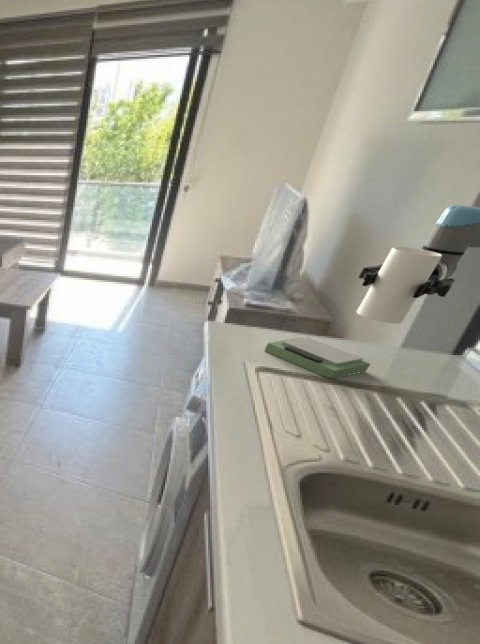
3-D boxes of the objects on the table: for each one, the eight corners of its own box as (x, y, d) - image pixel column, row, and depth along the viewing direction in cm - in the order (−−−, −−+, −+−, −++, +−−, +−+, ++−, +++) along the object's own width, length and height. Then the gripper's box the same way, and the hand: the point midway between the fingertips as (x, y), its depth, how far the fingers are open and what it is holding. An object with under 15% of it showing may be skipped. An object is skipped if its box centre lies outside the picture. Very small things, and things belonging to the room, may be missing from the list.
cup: (396, 315, 117) (436, 251, 110) (406, 326, 111) (448, 258, 103) (353, 308, 121) (388, 244, 113) (360, 317, 115) (397, 251, 107)
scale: (365, 371, 120) (372, 360, 118) (330, 379, 115) (336, 367, 114) (298, 345, 133) (303, 334, 131) (264, 350, 128) (269, 340, 127)
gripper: (470, 300, 115) (445, 316, 104) (359, 276, 130) (327, 287, 119) (491, 270, 111) (467, 283, 100) (374, 248, 127) (343, 258, 116)
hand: (391, 286), depth 110 cm, fingers closed on cup, 8 cm apart
